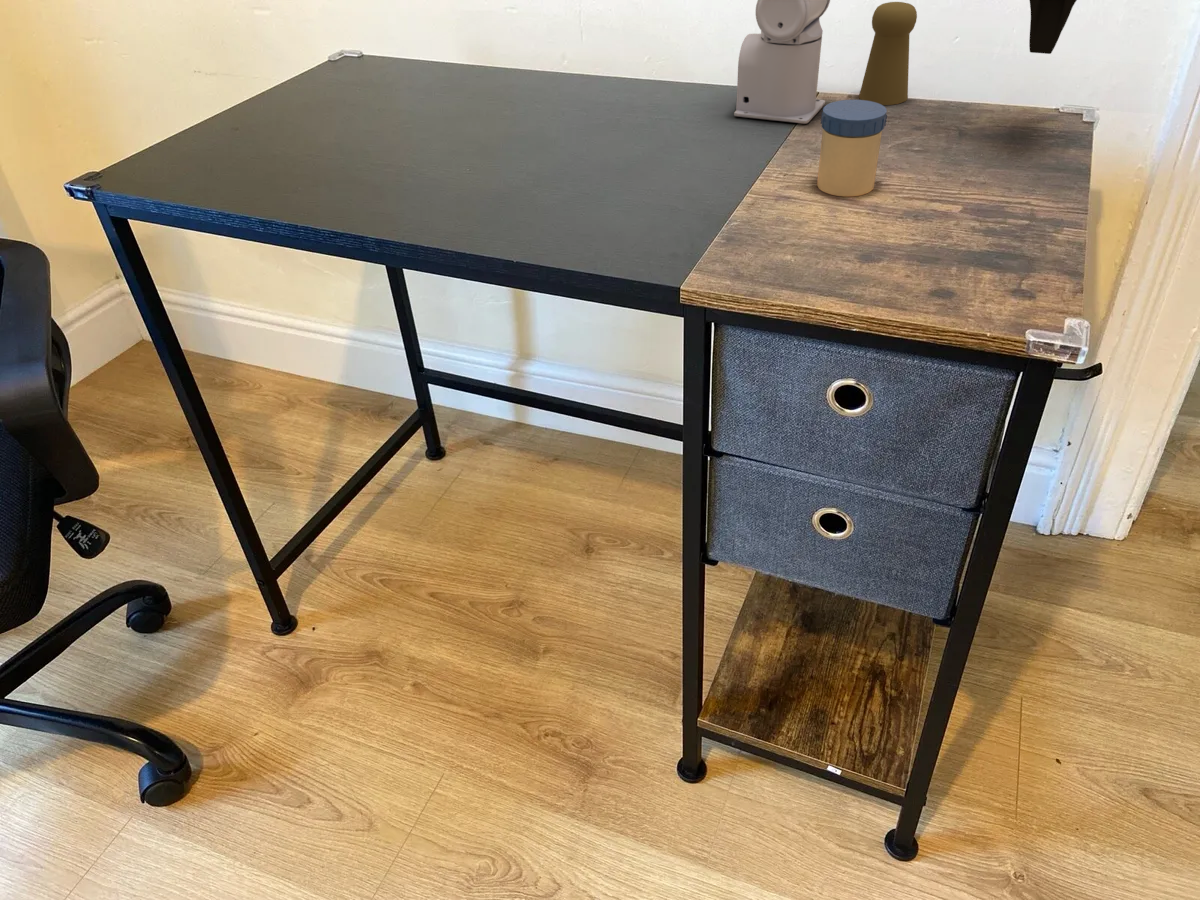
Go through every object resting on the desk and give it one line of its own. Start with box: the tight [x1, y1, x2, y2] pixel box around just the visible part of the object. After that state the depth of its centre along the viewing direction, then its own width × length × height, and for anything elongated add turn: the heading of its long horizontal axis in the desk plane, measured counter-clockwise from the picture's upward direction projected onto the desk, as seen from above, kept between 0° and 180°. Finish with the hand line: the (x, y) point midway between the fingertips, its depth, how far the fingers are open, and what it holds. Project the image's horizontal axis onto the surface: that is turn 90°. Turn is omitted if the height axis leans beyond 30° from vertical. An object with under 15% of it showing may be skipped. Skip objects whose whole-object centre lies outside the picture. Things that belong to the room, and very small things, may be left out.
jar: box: [816, 128, 883, 197], centre depth 89 cm, size 6×6×7 cm
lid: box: [820, 99, 888, 137], centre depth 87 cm, size 6×6×2 cm
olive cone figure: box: [858, 1, 918, 106], centre depth 109 cm, size 6×6×11 cm
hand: (1045, 42), depth 93 cm, fingers open, 7 cm apart
